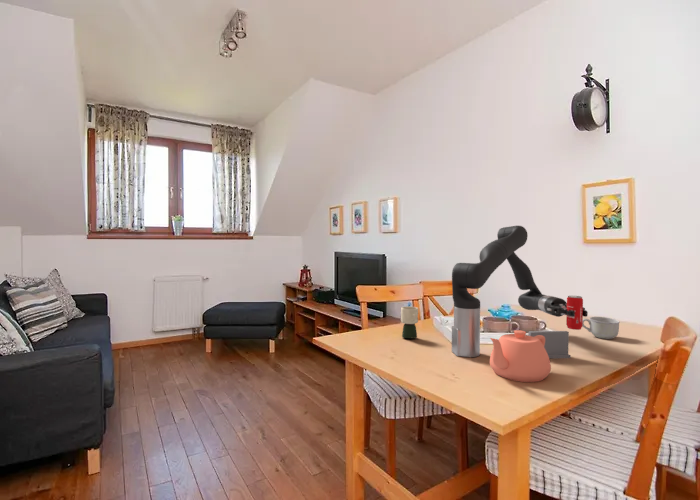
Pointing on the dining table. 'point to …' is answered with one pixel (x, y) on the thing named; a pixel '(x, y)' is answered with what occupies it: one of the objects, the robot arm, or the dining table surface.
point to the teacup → (602, 327)
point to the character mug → (409, 321)
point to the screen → (554, 342)
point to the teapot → (520, 357)
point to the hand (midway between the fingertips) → (580, 313)
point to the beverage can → (577, 306)
